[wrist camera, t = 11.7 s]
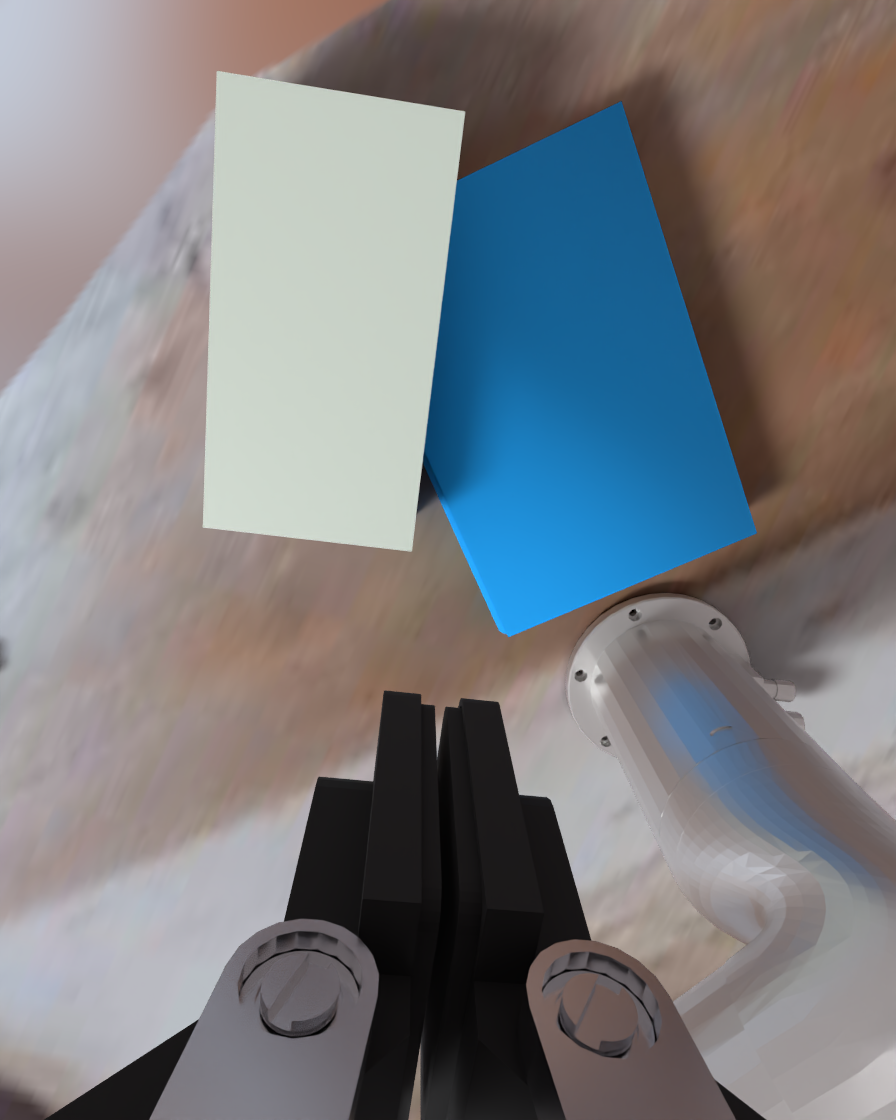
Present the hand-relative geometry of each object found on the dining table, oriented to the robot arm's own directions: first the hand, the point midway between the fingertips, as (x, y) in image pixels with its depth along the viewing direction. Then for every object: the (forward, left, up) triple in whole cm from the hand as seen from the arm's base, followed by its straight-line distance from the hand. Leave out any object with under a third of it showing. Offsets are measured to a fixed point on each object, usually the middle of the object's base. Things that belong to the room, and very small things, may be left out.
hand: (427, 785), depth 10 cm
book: (-7, -4, -36) cm, 37 cm away
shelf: (+5, -6, -35) cm, 36 cm away
